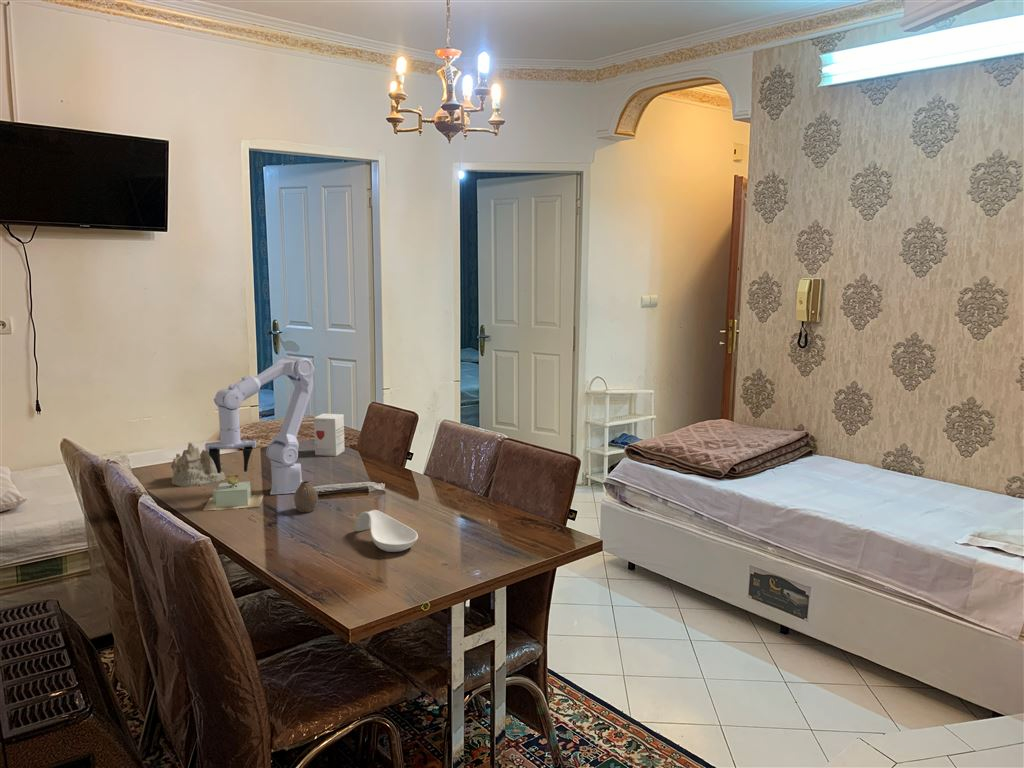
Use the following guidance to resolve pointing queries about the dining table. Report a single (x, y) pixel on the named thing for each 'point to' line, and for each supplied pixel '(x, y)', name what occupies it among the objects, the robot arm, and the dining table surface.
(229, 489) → the mint green slotted box
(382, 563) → the dining table surface
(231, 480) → the gold rounded piece
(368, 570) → the dining table surface
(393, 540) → the spoon rest
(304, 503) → the vase
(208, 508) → the cork mat
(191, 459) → the sand castle
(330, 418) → the supplement box
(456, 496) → the dining table surface
